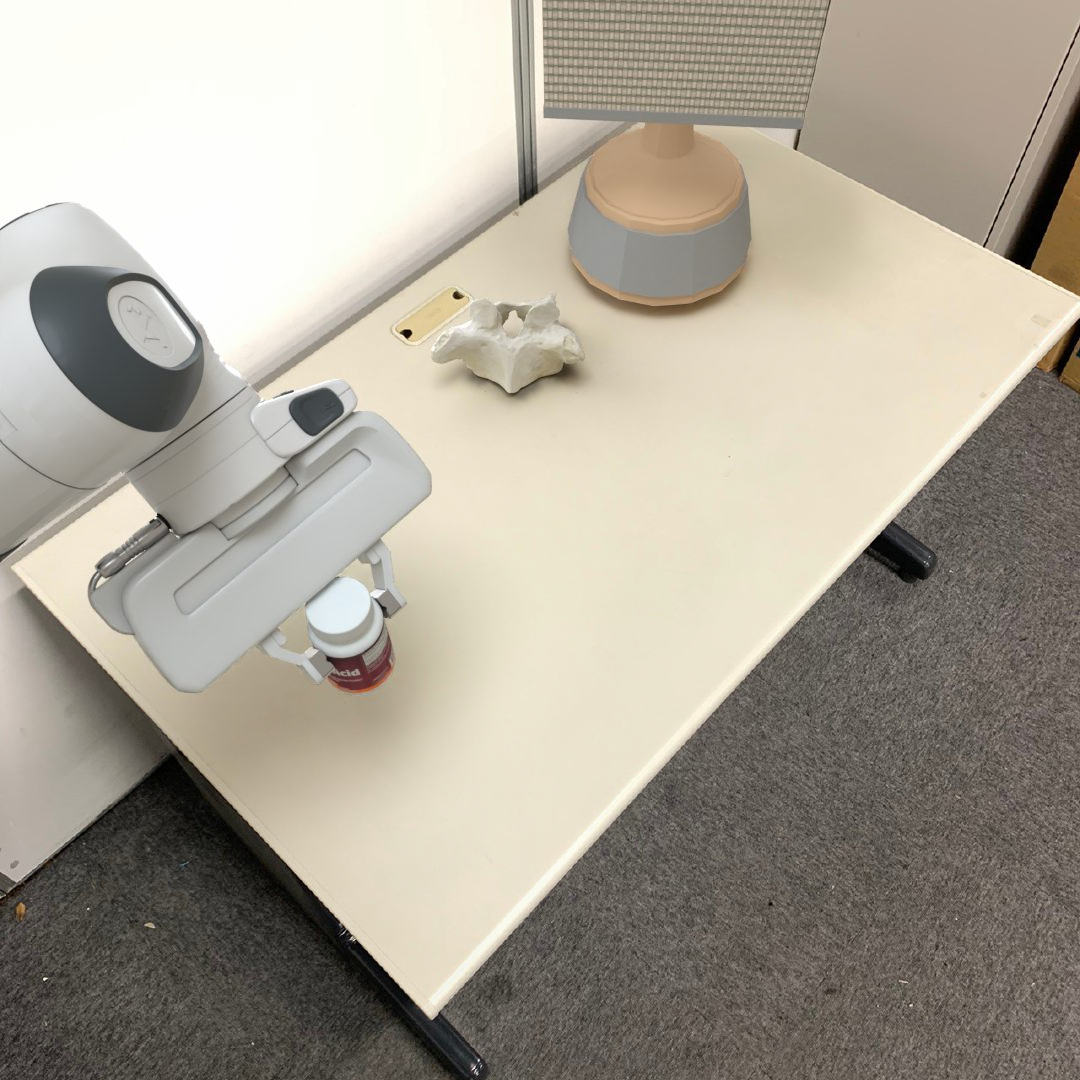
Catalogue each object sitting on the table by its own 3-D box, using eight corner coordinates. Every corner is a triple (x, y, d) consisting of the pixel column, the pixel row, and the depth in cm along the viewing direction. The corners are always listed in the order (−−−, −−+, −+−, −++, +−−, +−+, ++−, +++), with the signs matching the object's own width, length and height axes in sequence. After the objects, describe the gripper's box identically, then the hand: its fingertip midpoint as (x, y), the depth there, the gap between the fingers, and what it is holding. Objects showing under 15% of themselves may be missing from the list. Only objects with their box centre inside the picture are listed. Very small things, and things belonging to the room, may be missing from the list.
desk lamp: (758, 205, 110) (831, -176, 80) (760, 327, 100) (846, -57, 69) (563, 195, 112) (562, -181, 82) (546, 315, 102) (537, -66, 71)
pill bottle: (312, 679, 67) (282, 618, 60) (352, 623, 69) (327, 559, 62) (371, 709, 65) (347, 651, 58) (410, 651, 68) (391, 589, 61)
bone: (580, 392, 97) (590, 342, 90) (440, 416, 95) (438, 367, 88) (558, 320, 101) (565, 266, 94) (422, 341, 99) (419, 288, 91)
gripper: (75, 584, 52) (245, 771, 56) (364, 364, 60) (493, 542, 64) (63, 580, 57) (219, 751, 62) (330, 378, 65) (451, 542, 70)
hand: (361, 642), depth 63 cm, fingers closed on pill bottle, 5 cm apart
